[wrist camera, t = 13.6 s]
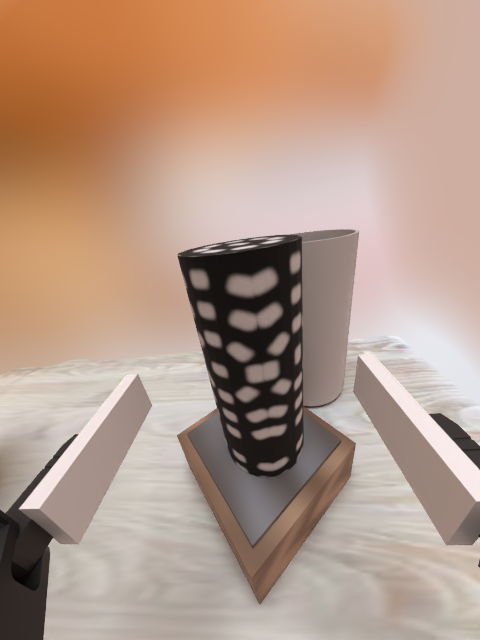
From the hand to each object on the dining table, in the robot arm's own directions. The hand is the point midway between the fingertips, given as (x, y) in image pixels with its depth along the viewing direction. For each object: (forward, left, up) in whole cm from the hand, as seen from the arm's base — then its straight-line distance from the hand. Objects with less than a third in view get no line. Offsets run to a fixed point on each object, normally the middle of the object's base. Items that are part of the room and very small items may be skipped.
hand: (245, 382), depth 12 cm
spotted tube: (+4, +4, -13) cm, 14 cm away
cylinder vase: (+19, +10, -19) cm, 29 cm away
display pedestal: (+3, +4, -19) cm, 20 cm away
